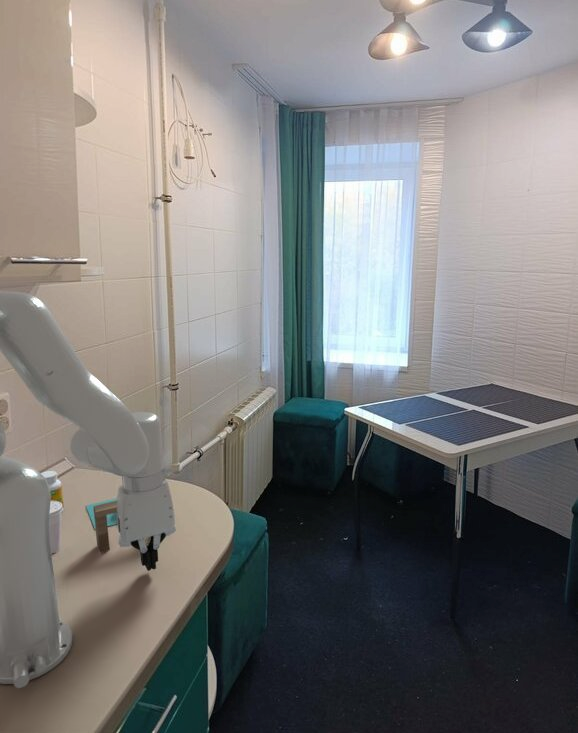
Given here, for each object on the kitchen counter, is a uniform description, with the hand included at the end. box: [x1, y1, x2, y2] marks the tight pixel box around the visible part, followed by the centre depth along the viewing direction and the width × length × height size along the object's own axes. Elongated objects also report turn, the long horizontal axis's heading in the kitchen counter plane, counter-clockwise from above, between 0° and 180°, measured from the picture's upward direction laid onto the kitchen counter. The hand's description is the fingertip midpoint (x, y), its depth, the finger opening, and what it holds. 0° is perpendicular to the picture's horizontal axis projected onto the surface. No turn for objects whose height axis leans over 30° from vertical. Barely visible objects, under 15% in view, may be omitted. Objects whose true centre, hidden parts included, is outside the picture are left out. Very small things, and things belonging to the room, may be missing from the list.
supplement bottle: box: [40, 470, 65, 512], centre depth 125 cm, size 5×5×10 cm
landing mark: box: [85, 497, 117, 531], centre depth 126 cm, size 13×13×1 cm
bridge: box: [93, 501, 117, 553], centre depth 112 cm, size 3×14×9 cm, turn 120°
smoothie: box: [49, 501, 64, 555], centre depth 108 cm, size 6×6×14 cm
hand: (150, 566), depth 101 cm, fingers closed
